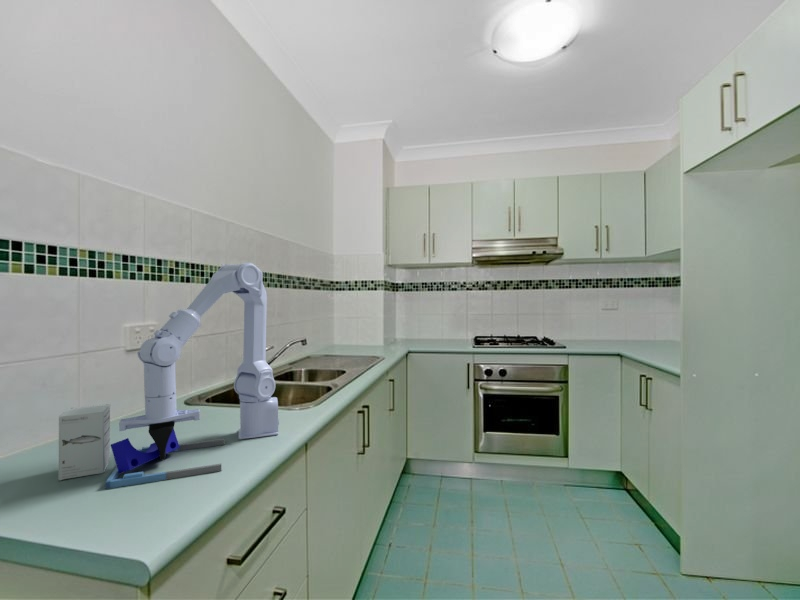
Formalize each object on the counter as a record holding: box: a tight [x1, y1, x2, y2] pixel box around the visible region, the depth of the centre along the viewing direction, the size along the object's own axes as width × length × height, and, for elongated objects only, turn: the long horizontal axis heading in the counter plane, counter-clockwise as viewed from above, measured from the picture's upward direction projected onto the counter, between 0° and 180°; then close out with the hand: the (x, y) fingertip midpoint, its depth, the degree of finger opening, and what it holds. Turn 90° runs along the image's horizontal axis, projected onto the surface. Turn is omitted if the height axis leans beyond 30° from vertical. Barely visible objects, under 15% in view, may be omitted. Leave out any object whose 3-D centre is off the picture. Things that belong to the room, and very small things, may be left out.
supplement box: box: [58, 403, 111, 481], centre depth 81 cm, size 7×7×13 cm
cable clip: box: [110, 427, 180, 475], centre depth 84 cm, size 12×4×6 cm, turn 164°
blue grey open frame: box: [104, 438, 225, 490], centre depth 84 cm, size 20×17×2 cm
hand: (162, 458), depth 84 cm, fingers closed, pressing on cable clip
